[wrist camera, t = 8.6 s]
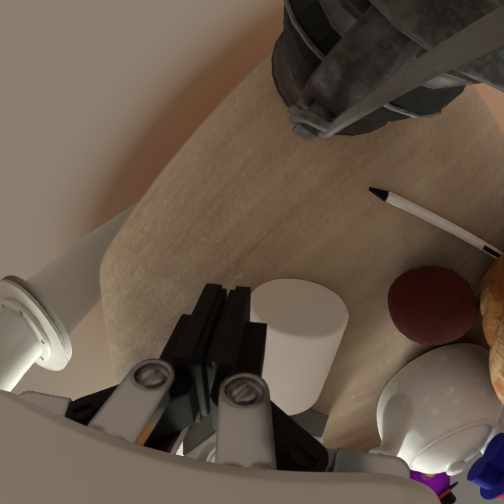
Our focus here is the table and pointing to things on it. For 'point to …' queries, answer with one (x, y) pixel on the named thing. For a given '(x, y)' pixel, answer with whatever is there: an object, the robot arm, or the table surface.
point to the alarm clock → (204, 435)
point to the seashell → (494, 321)
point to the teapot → (440, 410)
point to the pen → (435, 220)
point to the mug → (298, 339)
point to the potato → (432, 305)
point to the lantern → (382, 60)
